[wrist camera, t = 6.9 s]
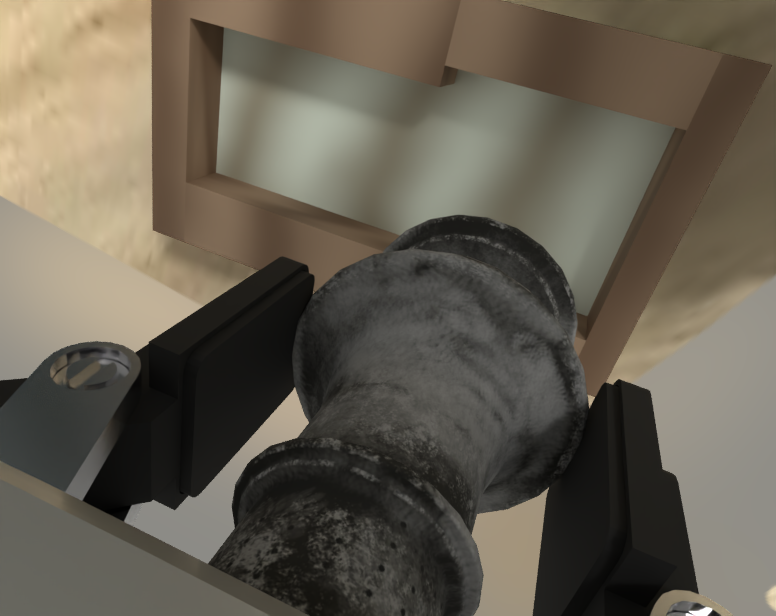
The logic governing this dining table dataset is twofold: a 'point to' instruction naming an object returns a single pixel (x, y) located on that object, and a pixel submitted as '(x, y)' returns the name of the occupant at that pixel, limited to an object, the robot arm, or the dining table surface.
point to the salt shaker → (413, 424)
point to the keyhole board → (439, 137)
